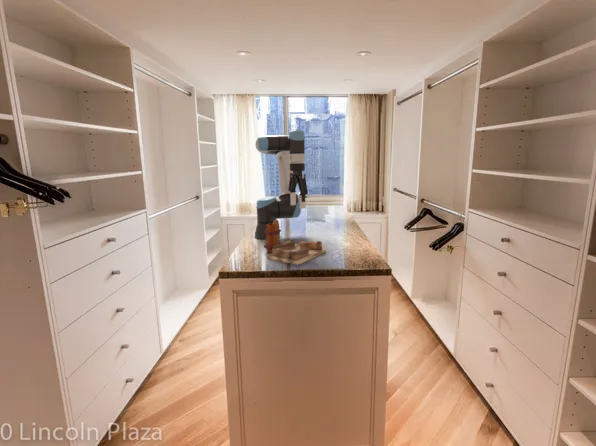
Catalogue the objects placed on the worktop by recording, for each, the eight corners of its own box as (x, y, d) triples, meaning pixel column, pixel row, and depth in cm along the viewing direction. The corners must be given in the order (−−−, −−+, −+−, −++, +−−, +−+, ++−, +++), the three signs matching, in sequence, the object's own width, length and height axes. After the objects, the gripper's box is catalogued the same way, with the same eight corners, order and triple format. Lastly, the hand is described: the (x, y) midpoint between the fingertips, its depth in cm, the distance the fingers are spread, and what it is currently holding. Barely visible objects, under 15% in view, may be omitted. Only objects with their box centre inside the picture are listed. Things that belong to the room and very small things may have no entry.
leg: (322, 248, 162) (322, 240, 162) (321, 250, 160) (321, 242, 159) (300, 248, 164) (300, 240, 163) (299, 249, 161) (299, 242, 160)
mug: (278, 254, 158) (277, 224, 155) (262, 254, 160) (261, 224, 157) (285, 246, 172) (284, 219, 169) (270, 246, 174) (269, 218, 171)
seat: (267, 258, 154) (266, 247, 152) (296, 246, 172) (296, 236, 171) (297, 265, 143) (297, 253, 142) (325, 251, 162) (325, 241, 161)
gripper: (281, 162, 169) (282, 204, 173) (300, 163, 148) (300, 210, 152) (294, 162, 172) (295, 203, 176) (314, 163, 151) (314, 209, 155)
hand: (297, 206), depth 164 cm, fingers open, 11 cm apart
